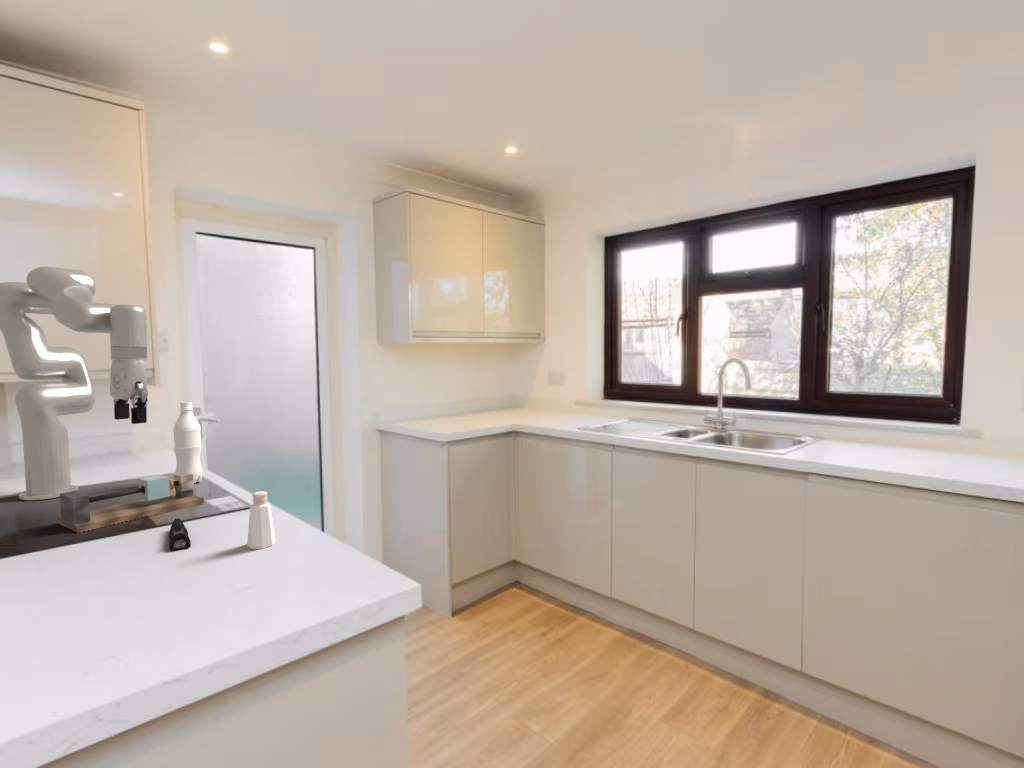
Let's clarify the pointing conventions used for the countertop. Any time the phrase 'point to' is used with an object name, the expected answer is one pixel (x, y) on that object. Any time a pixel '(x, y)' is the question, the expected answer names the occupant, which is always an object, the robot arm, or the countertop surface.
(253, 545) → the pepper shaker
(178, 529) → the electric trimmer
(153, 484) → the sleeve
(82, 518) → the linear slide rail
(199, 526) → the countertop surface
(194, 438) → the water bottle
